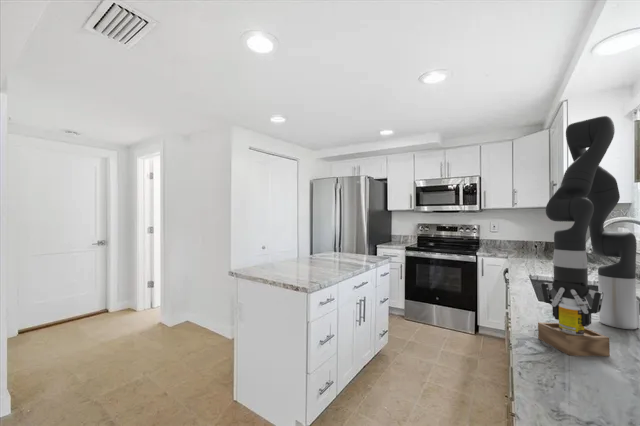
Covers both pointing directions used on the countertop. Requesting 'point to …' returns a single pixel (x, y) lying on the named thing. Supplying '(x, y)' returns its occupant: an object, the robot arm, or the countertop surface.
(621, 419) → the countertop surface
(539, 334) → the walnut tray
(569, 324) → the supplement bottle
